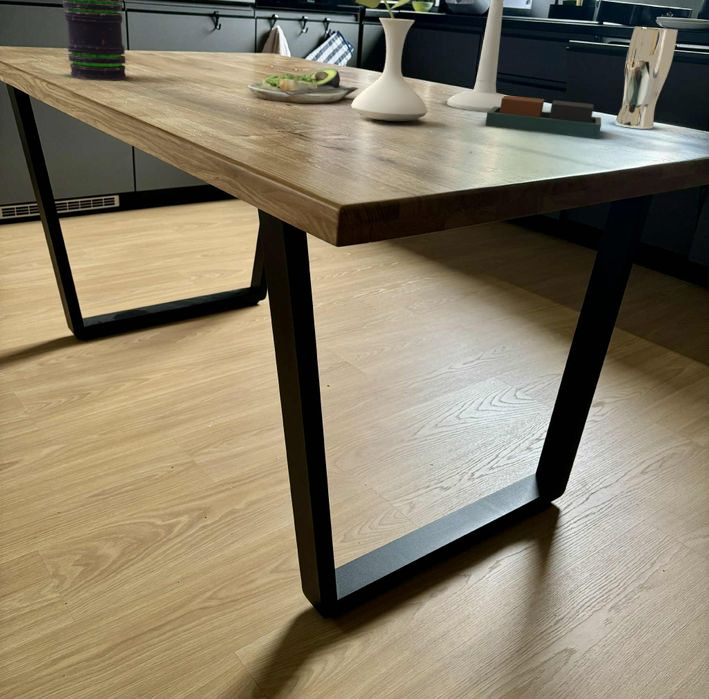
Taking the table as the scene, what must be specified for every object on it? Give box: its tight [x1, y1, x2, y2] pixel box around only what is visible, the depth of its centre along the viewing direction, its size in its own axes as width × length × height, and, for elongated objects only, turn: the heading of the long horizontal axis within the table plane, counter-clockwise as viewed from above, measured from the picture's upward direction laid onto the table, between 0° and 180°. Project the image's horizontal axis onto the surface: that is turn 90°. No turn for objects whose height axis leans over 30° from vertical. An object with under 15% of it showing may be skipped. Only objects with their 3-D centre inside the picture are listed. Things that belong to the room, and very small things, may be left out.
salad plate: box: [247, 68, 359, 104], centre depth 123 cm, size 19×18×5 cm
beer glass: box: [614, 26, 679, 130], centre depth 117 cm, size 7×7×15 cm
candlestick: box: [446, 0, 505, 113], centre depth 123 cm, size 13×13×30 cm
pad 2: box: [549, 99, 595, 123], centre depth 108 cm, size 6×5×4 cm
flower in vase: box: [351, 0, 428, 122], centre depth 102 cm, size 13×11×25 cm
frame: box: [484, 106, 602, 140], centre depth 110 cm, size 17×9×2 cm, turn 73°
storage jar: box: [62, 0, 127, 81], centre depth 129 cm, size 10×10×15 cm
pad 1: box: [500, 94, 545, 117], centre depth 110 cm, size 6×5×4 cm
